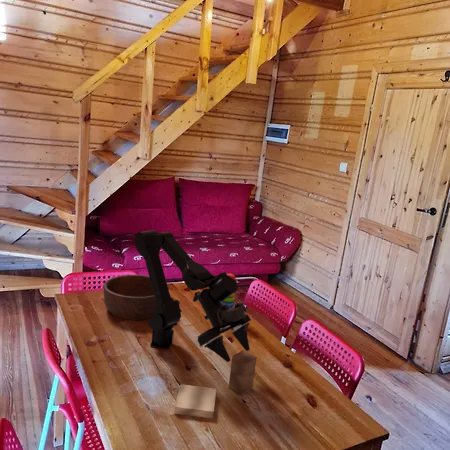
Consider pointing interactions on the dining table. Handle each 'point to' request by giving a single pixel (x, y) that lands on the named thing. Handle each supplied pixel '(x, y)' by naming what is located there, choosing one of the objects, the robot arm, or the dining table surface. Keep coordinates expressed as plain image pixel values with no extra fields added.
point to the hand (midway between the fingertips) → (239, 355)
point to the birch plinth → (195, 401)
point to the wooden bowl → (130, 297)
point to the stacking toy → (230, 297)
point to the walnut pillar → (242, 372)
